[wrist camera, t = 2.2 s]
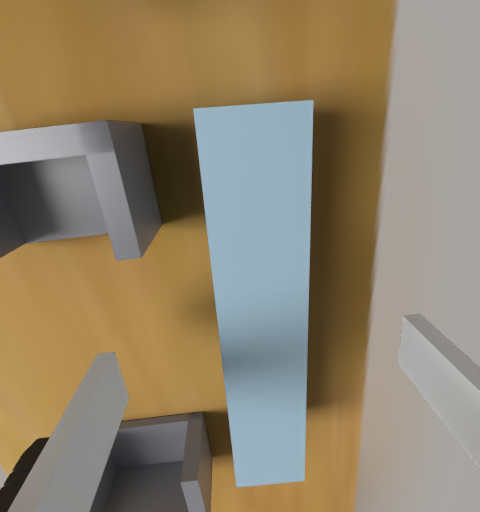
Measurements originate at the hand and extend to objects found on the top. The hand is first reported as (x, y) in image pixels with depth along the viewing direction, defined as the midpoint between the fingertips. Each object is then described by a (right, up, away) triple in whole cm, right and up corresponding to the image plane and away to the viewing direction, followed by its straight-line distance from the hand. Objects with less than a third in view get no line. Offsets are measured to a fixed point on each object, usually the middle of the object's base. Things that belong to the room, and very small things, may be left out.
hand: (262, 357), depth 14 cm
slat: (0, +2, +5) cm, 5 cm away
